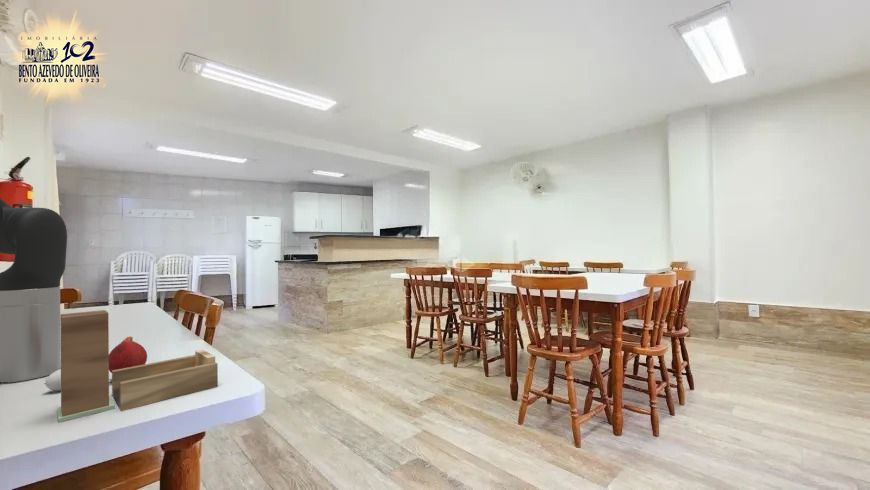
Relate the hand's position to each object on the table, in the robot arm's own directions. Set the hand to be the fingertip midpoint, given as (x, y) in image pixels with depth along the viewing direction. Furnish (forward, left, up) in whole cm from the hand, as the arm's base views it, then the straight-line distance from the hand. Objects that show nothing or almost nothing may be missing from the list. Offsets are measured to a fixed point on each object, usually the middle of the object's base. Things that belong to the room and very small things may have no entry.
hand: (1, 212), depth 55 cm
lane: (+6, +19, -30) cm, 36 cm away
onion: (-7, +15, -30) cm, 34 cm away
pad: (+6, +9, -30) cm, 32 cm away
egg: (-9, +7, -30) cm, 32 cm away
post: (+6, +8, -30) cm, 31 cm away
